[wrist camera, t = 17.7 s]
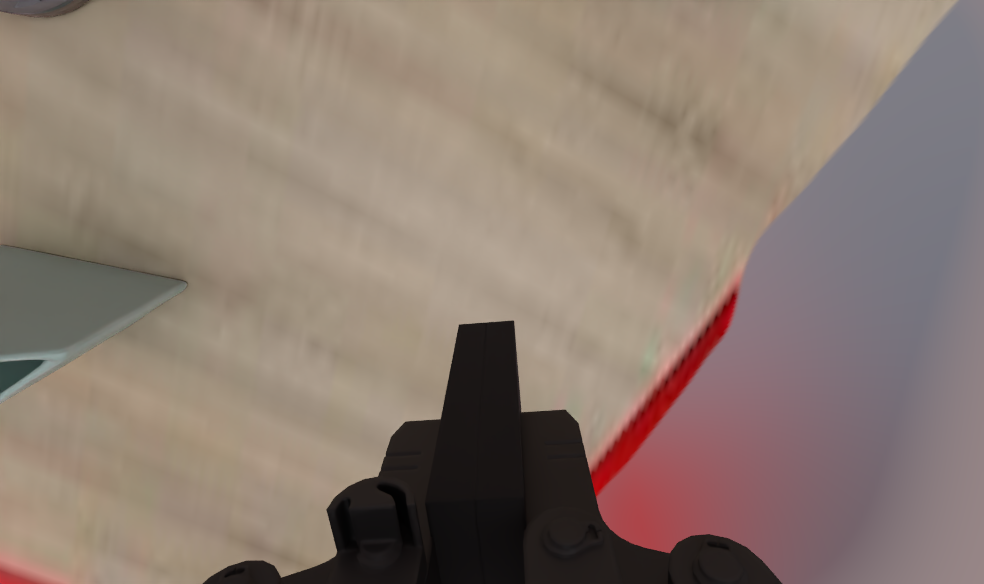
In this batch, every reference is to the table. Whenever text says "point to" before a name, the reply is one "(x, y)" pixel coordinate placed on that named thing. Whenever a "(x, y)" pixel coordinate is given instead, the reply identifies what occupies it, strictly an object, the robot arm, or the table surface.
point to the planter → (65, 310)
